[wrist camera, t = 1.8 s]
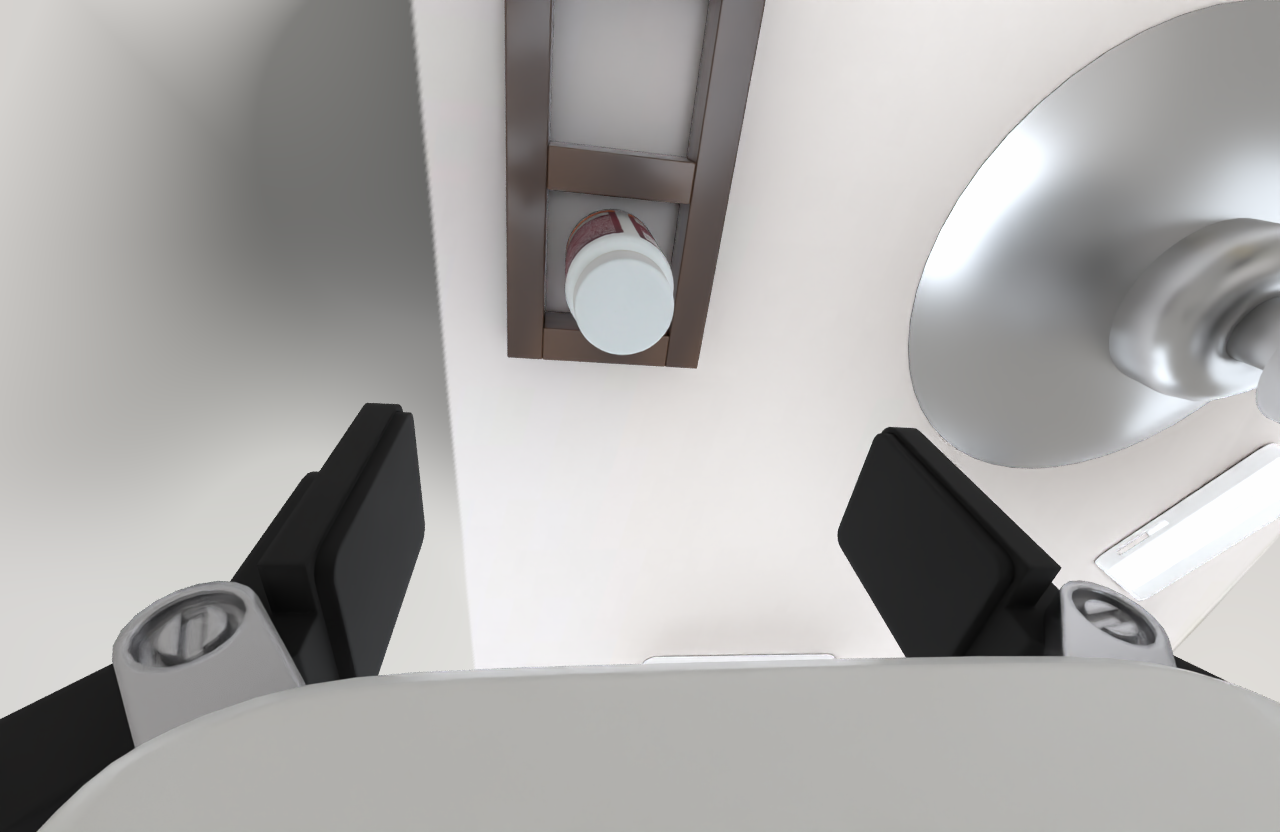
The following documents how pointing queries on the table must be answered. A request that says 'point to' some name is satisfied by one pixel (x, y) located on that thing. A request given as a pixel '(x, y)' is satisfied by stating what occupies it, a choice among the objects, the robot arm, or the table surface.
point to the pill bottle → (618, 283)
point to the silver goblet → (1114, 252)
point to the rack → (620, 182)
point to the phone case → (1199, 526)
